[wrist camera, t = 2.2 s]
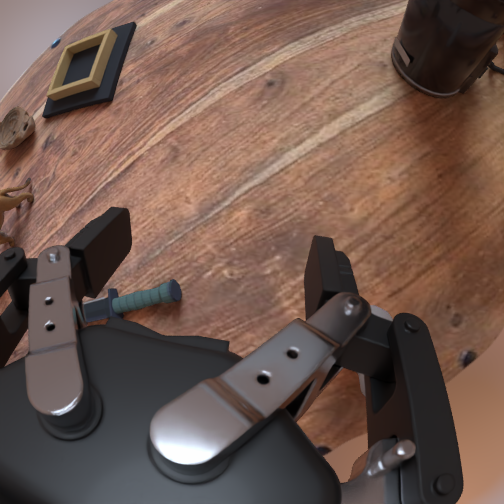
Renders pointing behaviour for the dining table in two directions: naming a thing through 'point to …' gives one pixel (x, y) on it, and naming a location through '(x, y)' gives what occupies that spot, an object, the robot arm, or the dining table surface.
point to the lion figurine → (11, 207)
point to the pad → (88, 71)
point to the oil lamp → (15, 128)
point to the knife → (131, 301)
